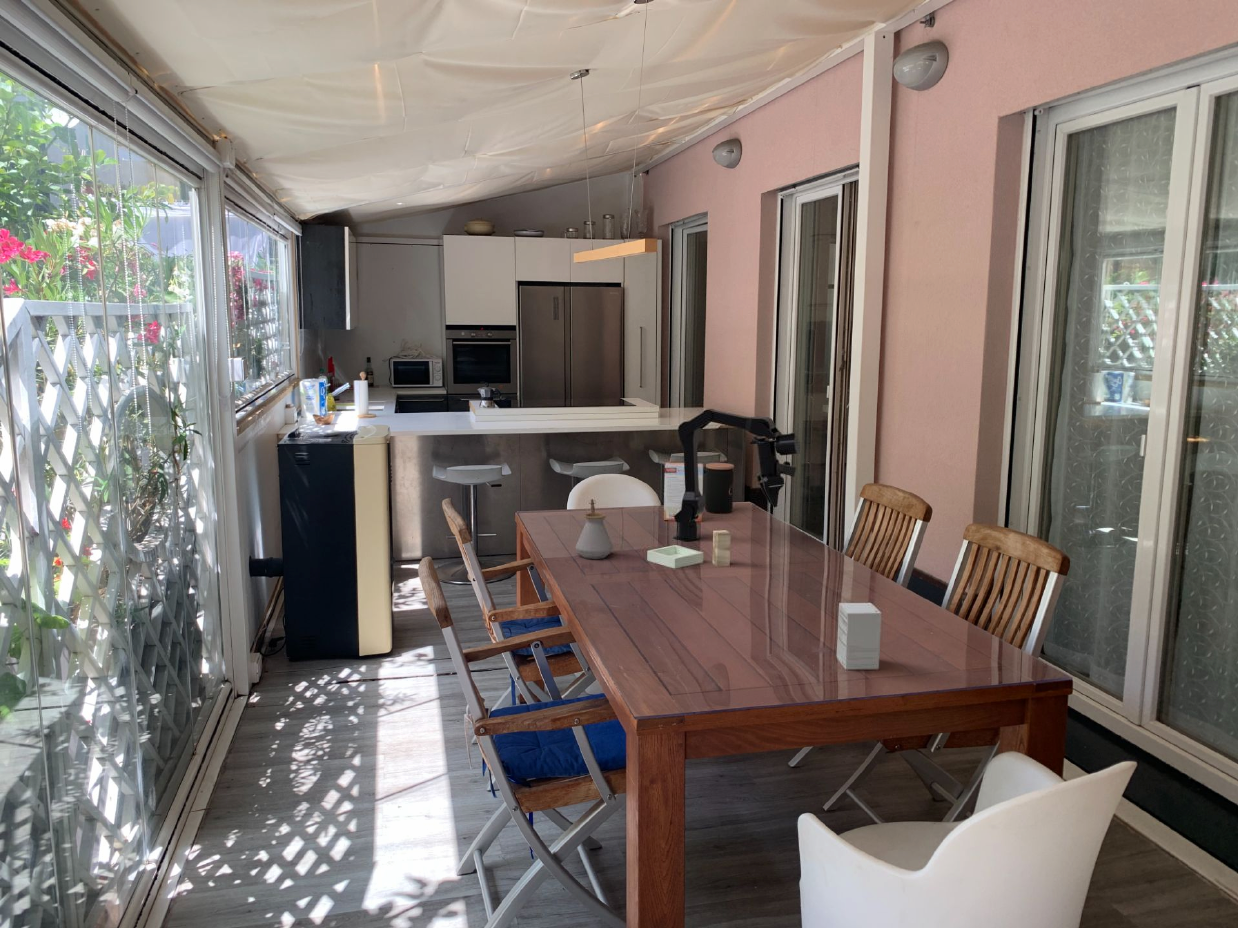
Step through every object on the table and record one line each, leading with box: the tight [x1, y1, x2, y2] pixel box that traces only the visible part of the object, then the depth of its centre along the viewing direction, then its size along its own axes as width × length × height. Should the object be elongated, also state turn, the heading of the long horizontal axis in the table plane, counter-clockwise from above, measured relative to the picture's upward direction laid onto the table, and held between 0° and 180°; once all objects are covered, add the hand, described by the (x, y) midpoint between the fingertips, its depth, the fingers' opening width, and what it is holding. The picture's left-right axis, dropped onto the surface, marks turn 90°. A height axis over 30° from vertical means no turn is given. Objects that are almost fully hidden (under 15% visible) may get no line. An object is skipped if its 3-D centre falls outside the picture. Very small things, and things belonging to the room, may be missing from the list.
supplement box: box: [836, 602, 882, 671], centre depth 202 cm, size 7×7×13 cm
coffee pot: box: [575, 499, 614, 560], centre depth 294 cm, size 21×12×15 cm, turn 5°
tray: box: [646, 544, 704, 569], centre depth 285 cm, size 12×12×3 cm
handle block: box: [712, 529, 732, 567], centre depth 282 cm, size 4×4×10 cm
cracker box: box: [663, 462, 704, 523], centre depth 343 cm, size 14×6×21 cm, turn 84°
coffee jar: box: [704, 462, 735, 515], centre depth 359 cm, size 11×11×18 cm
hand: (773, 505), depth 300 cm, fingers open, 9 cm apart
